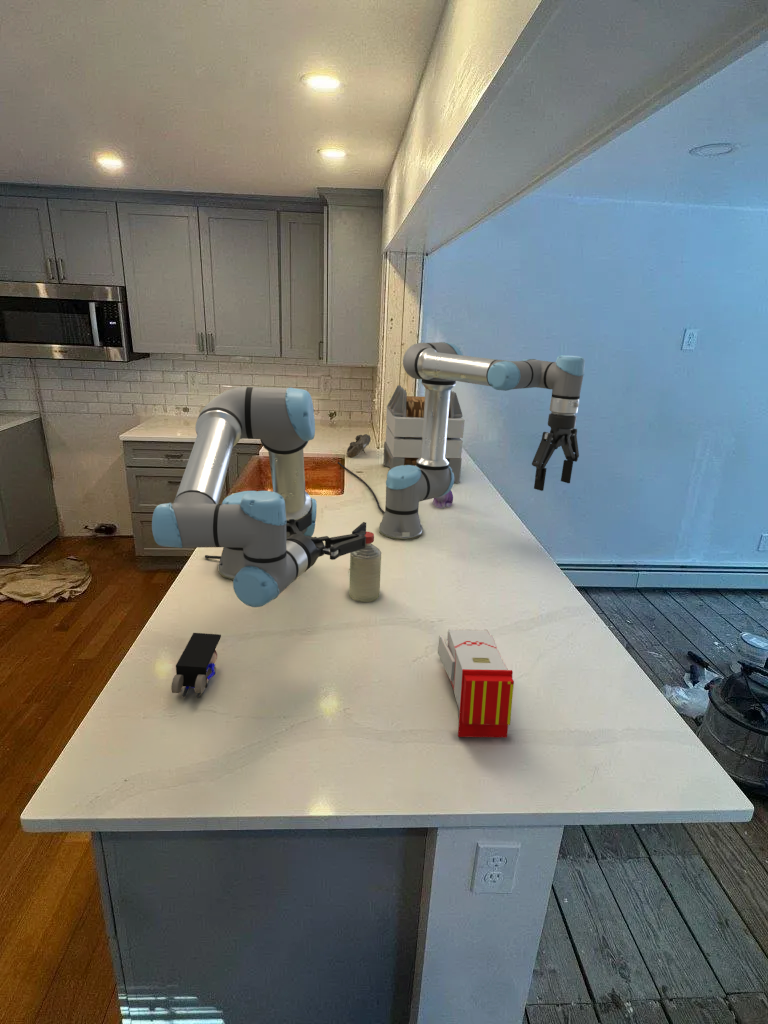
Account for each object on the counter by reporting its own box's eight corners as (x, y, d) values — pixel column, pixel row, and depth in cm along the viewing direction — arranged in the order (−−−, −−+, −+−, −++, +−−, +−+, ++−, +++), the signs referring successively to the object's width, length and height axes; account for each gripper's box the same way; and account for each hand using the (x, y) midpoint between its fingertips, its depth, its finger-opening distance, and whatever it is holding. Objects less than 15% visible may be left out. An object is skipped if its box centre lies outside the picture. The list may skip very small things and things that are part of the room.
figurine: (439, 510, 225) (442, 474, 220) (426, 502, 233) (428, 467, 228) (459, 507, 229) (462, 471, 224) (445, 500, 237) (448, 465, 232)
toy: (488, 613, 130) (523, 677, 101) (484, 667, 133) (517, 744, 104) (435, 612, 130) (455, 676, 101) (432, 666, 133) (451, 743, 103)
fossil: (346, 440, 316) (367, 425, 311) (357, 453, 319) (378, 438, 314) (340, 453, 296) (362, 438, 291) (351, 468, 299) (374, 452, 294)
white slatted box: (382, 463, 289) (386, 382, 275) (445, 464, 293) (451, 384, 279) (390, 482, 257) (394, 392, 243) (460, 483, 261) (468, 394, 247)
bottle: (352, 603, 152) (353, 542, 146) (347, 588, 159) (348, 530, 153) (382, 601, 154) (385, 540, 148) (375, 587, 161) (378, 529, 155)
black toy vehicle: (206, 709, 112) (224, 658, 125) (202, 680, 108) (221, 630, 122) (172, 708, 112) (194, 657, 125) (167, 679, 108) (190, 629, 122)
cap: (360, 544, 149) (360, 537, 148) (357, 538, 152) (357, 531, 152) (375, 543, 150) (375, 536, 149) (372, 537, 153) (372, 531, 153)
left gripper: (238, 563, 116) (288, 529, 135) (350, 587, 108) (387, 547, 127) (236, 529, 113) (288, 499, 132) (351, 551, 106) (389, 516, 125)
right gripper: (548, 419, 148) (537, 496, 155) (598, 411, 163) (586, 482, 171) (525, 414, 153) (515, 489, 160) (575, 407, 169) (564, 476, 176)
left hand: (337, 523), depth 130 cm, fingers open, 13 cm apart
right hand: (552, 485), depth 166 cm, fingers open, 13 cm apart
